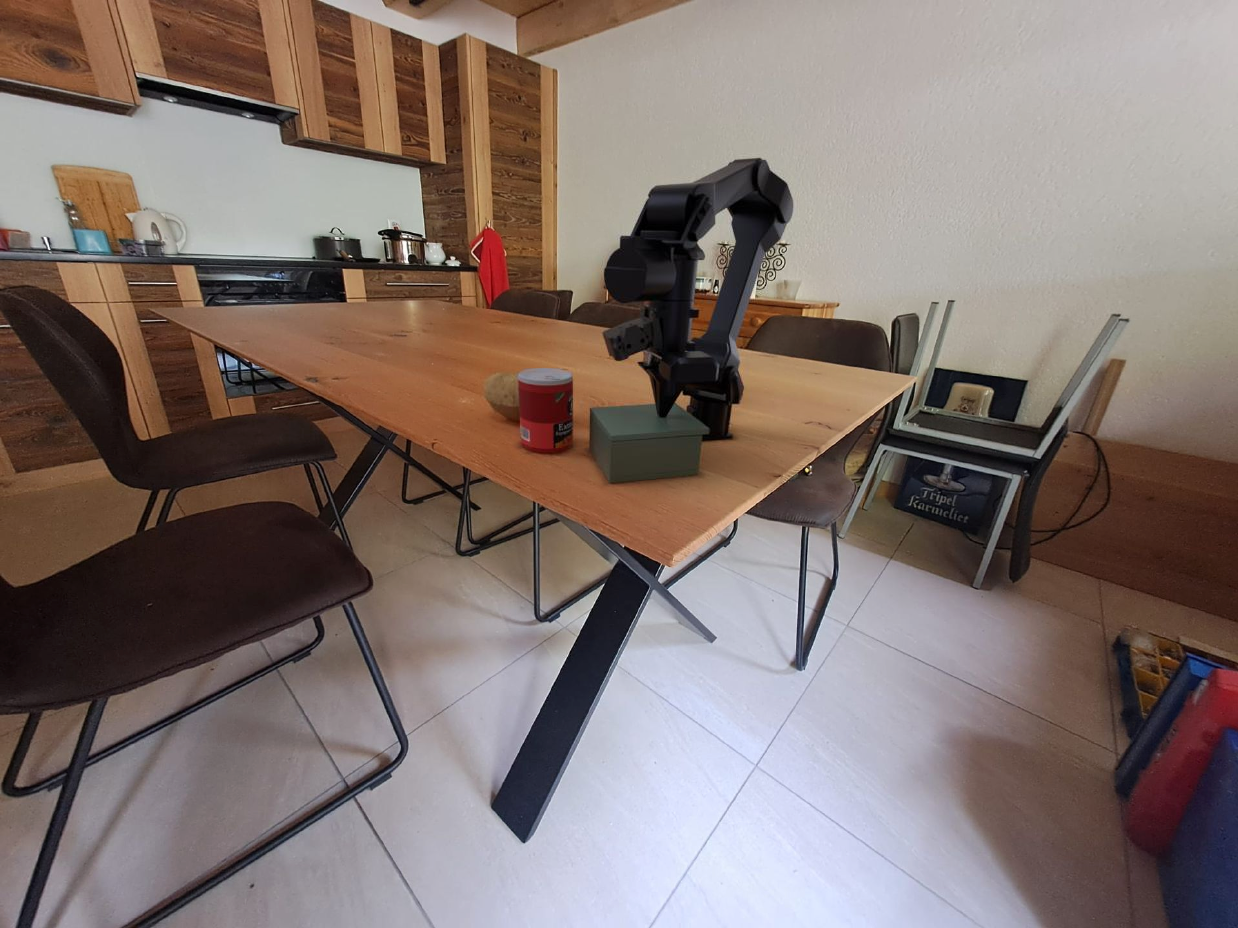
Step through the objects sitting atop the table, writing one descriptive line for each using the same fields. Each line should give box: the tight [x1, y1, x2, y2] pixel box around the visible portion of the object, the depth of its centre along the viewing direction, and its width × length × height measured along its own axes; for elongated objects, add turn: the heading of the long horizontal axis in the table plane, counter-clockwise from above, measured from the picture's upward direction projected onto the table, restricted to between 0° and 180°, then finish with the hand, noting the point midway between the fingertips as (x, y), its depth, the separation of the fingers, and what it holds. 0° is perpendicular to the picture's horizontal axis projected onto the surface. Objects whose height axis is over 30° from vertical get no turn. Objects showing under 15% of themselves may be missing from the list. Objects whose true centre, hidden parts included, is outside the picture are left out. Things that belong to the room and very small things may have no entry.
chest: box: [588, 413, 703, 484], centre depth 67 cm, size 13×12×6 cm
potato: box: [482, 372, 520, 423], centre depth 81 cm, size 10×14×8 cm
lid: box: [589, 402, 709, 441], centre depth 65 cm, size 14×12×1 cm
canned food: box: [517, 367, 574, 455], centre depth 70 cm, size 8×8×11 cm
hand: (661, 416), depth 66 cm, fingers closed, pressing on lid
